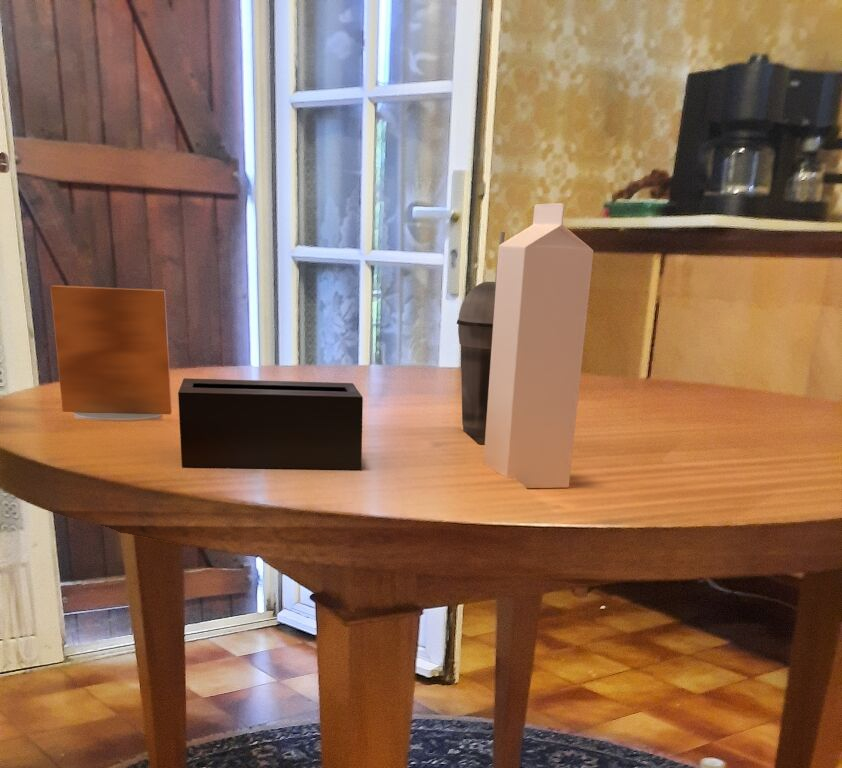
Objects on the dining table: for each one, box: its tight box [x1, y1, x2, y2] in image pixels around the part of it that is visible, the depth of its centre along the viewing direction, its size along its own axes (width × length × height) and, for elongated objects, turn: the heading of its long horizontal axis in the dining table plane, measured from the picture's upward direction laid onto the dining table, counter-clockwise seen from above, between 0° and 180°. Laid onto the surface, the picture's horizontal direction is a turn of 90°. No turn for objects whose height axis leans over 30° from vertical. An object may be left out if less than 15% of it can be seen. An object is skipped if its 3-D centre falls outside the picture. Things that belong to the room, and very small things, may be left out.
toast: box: [50, 284, 173, 415], centre depth 110 cm, size 11×2×12 cm, turn 98°
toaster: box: [177, 377, 364, 472], centre depth 93 cm, size 15×9×7 cm, turn 98°
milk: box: [482, 202, 594, 489], centre depth 90 cm, size 6×6×22 cm
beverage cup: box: [456, 231, 506, 446], centre depth 109 cm, size 7×7×20 cm
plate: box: [73, 412, 164, 422], centre depth 112 cm, size 9×9×1 cm
